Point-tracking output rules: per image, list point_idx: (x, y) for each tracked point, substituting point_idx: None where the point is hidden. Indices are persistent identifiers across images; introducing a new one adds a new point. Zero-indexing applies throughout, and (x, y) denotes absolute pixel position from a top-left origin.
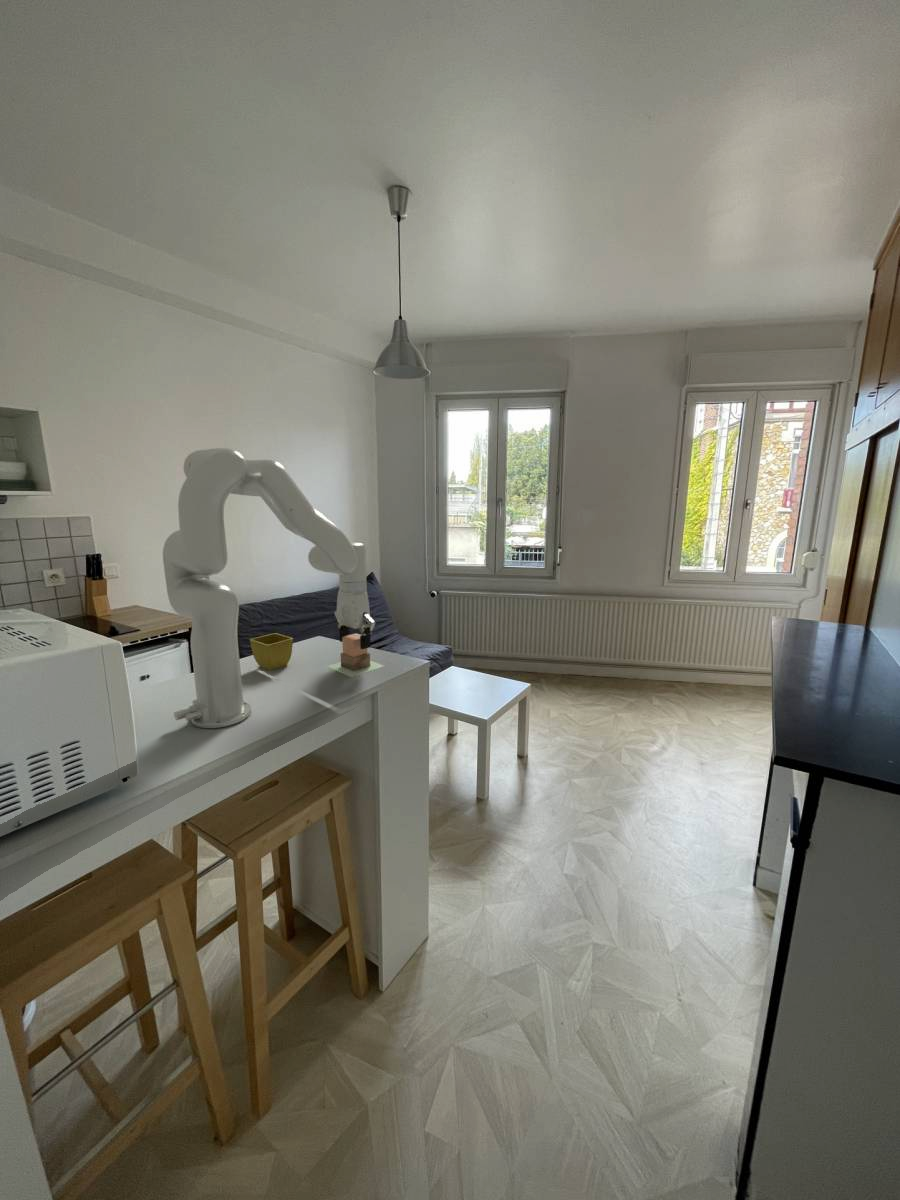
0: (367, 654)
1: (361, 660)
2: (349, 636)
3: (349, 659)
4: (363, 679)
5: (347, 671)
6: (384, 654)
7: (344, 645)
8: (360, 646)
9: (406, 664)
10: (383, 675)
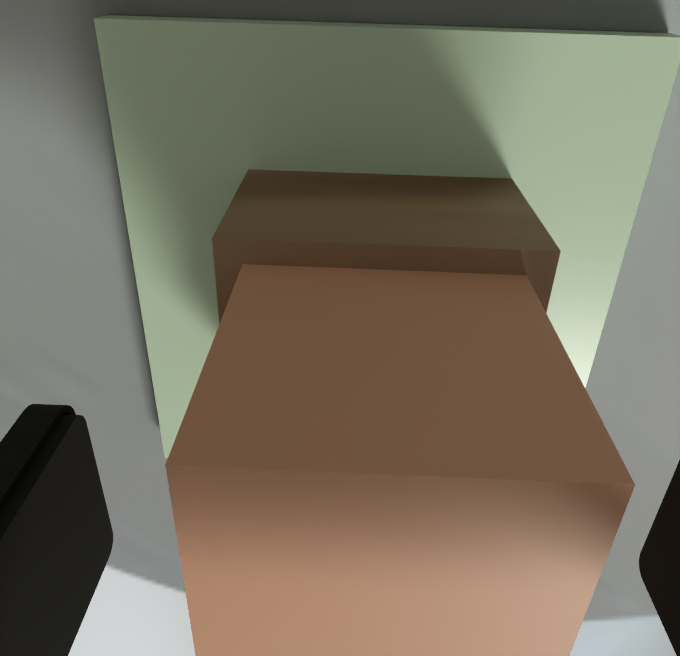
0: None
1: None
2: (496, 579)
3: (316, 222)
4: (39, 127)
5: (303, 115)
6: None
7: (502, 354)
8: (64, 435)
9: (137, 574)
10: (23, 331)
